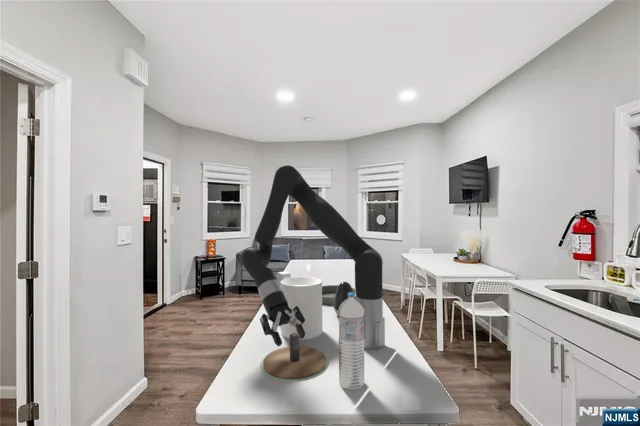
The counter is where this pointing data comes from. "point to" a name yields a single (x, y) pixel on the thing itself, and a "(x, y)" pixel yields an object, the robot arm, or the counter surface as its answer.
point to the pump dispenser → (341, 295)
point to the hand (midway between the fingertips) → (292, 341)
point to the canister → (304, 304)
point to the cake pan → (330, 293)
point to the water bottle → (351, 344)
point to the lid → (294, 361)
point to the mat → (294, 379)
